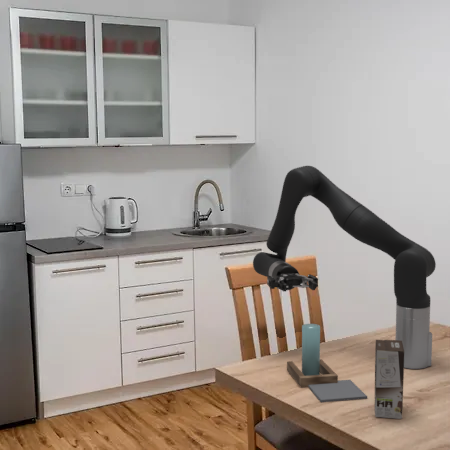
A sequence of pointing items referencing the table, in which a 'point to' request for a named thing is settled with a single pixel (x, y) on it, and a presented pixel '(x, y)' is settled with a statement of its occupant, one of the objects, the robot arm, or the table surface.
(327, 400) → the felt pad
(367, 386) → the table surface
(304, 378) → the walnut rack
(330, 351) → the table surface
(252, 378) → the table surface
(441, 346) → the table surface
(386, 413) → the coffee box
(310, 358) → the canister
